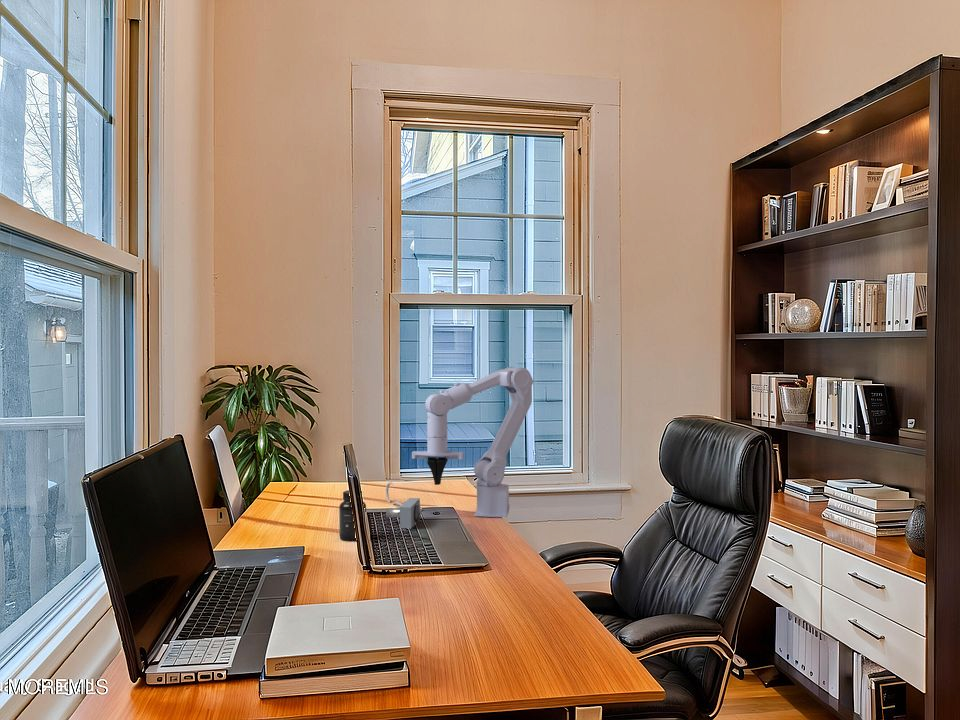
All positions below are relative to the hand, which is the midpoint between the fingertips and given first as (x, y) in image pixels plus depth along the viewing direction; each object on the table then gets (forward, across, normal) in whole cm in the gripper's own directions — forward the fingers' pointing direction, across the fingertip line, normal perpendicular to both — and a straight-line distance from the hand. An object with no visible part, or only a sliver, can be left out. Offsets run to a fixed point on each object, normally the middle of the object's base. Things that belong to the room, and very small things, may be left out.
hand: (437, 484), depth 209 cm
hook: (+11, +15, -14) cm, 23 cm away
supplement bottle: (+10, +18, +23) cm, 31 cm away
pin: (+9, +8, +7) cm, 14 cm away
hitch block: (+10, +6, +7) cm, 14 cm away
